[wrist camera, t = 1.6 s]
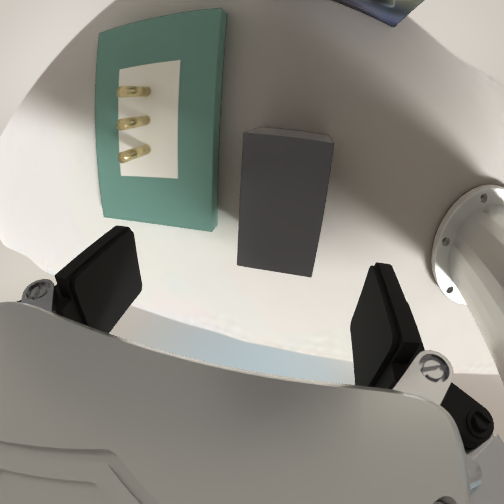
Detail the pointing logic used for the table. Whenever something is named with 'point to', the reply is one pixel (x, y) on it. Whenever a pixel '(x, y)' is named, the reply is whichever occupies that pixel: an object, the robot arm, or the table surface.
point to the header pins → (133, 122)
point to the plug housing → (282, 198)
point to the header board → (162, 118)
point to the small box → (384, 8)
